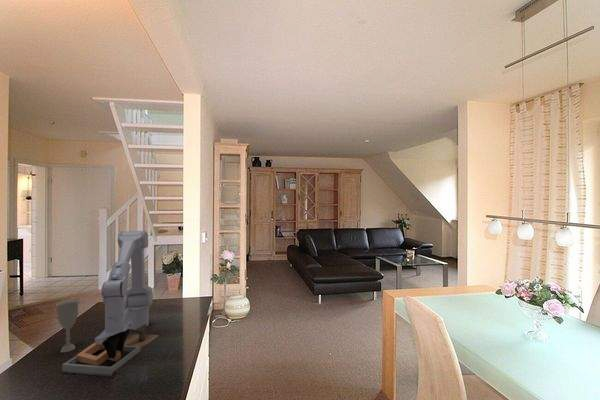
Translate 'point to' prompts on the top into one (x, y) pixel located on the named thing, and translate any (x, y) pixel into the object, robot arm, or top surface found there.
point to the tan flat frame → (95, 360)
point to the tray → (99, 370)
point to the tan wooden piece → (139, 338)
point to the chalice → (67, 319)
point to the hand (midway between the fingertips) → (115, 355)
